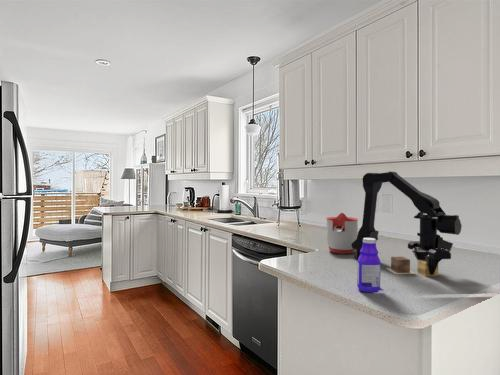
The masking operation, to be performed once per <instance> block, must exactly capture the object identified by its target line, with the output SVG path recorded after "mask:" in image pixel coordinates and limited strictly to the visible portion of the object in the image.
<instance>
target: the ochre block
mask: <svg viewBox="0 0 500 375" xmlns="http://www.w3.org/2000/svg"><path fill="white" fill-rule="evenodd" d="M417 273H418V274H420V275H421V276H423V277H439V264H438V265H437V267H436V270H435V272H434V274H433V275H431V274H430V272H429V269H428V265H427V262H426V260H418V261H417Z"/></svg>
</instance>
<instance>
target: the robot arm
mask: <svg viewBox="0 0 500 375" xmlns="http://www.w3.org/2000/svg"><path fill="white" fill-rule="evenodd" d="M383 183H384V184H385V183H389V184H391V185H392V186H394V187H395V188H396V189H397V190H398V191H400V192H401V193H403V195H404V196H406V197H407V198H408V199H410V200H411V201H412V204H413V206H414V207H415V208H416V209H417V210H418V211H419V212H417V213H416V214H415V216H413V219H418V220H419V232H417V237H419V240H417V241H416V240H415V241H414V240H413V241H412V240H411V241H409V242H408V243H407V249H408V250H411V251H412V253H413V256H414V257H415V258H416V261H417V262H418V260H426V262H427V265H428V269H429V272H430V274H431V275H433V274H434V272H435V270H436V267H437V265H438V266H439V263H440V261H441V262H442V260H451V259H452V253H451V250H452V247H453V245H454V243H453V242H450V241H448V240H445V239H444V238H443V237H442V236H441V235H440V234H447V235H449V234H450V235H457V236H458V235H460V233H461V231H462V227H463V226H462V222H461V220H460V217H459V216H460V215H458V214H456V215H455V214H453V215H452V214H451V215H450V214H446V213H445V211H444V210H443V208H442V207H441V206H440V205H441V204H440V201H439V200H438V199H437V198H435V197H434V196H431V195H429V194H427V193H425V192H422V191H420V190H419V189H417V188H416V187H415V186H414V185H412V184H411V183H410V182H408V181H407V180H406V179H404V178H403V177H402V176H400V174H398V172H396V171H386V172H380V173H379V172H366V173H365V174H364V175H363V177H362V188H363V190H364V192H365V193H364V204H363V213H362V214H363V215H362V223H361V224H362V225H361V226H360V228H359V229H358V235H357V239H356V240H355V241H354V242H353V243H352V244H351V245H352V248H353V249H354V252H353V253H354V258H353V259H354V260H355V261H356V262H358V258H359V256H360V254H361V252H360V250H361V248H362V246H363V238H374V239H376V242H377V241H378V240H379V237H378V236H379V230H376V228H375V221H376V220H375V219H376V210H377V209H376V208H377V201H378V194H379V192H380V190H381V188H382V185H383ZM438 232H439V233H440V234H438Z"/></svg>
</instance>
